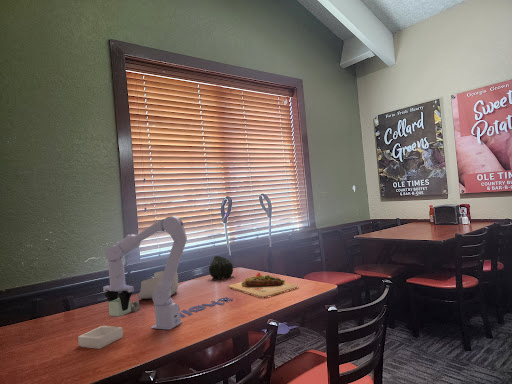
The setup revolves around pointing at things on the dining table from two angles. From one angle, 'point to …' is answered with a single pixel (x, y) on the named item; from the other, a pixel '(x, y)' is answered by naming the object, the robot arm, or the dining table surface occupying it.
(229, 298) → the signage
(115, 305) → the green crate
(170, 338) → the dining table surface
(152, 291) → the cream block
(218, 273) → the squash
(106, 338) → the tray
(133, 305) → the egg carton
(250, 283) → the cutting board
